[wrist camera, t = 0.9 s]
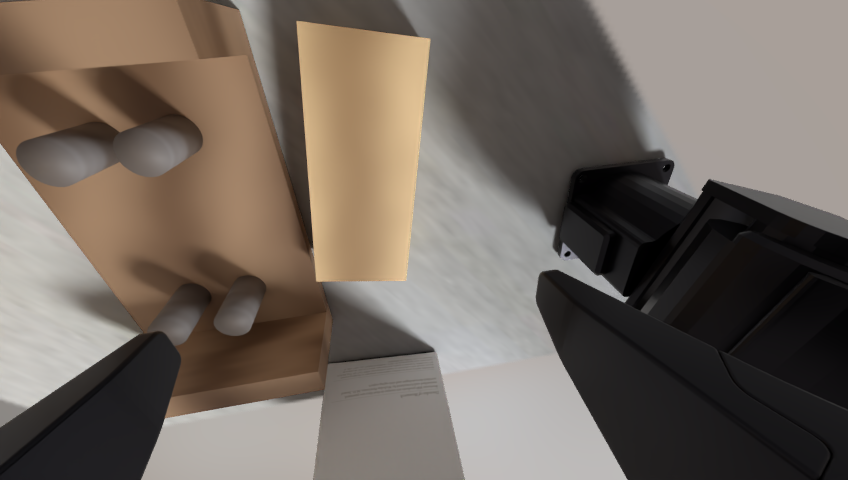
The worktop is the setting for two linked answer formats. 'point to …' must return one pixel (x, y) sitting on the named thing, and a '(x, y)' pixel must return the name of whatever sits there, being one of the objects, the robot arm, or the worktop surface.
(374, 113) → the shelf board
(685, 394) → the robot arm
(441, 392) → the supplement box
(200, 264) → the peg frame
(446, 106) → the worktop surface
